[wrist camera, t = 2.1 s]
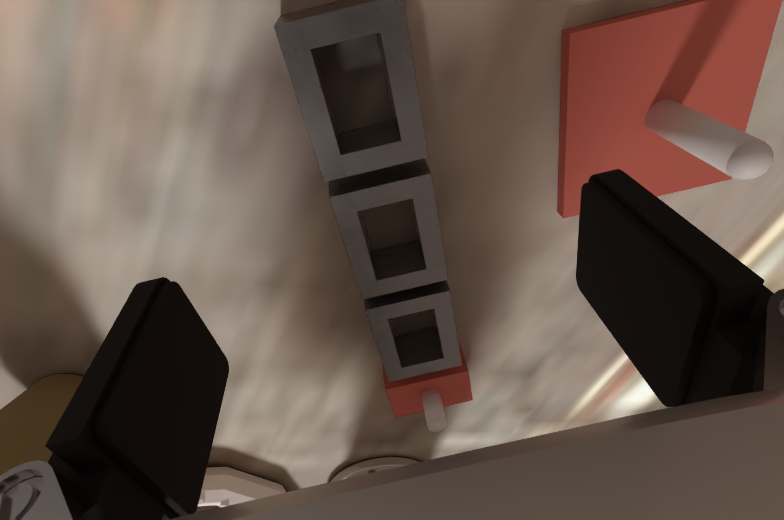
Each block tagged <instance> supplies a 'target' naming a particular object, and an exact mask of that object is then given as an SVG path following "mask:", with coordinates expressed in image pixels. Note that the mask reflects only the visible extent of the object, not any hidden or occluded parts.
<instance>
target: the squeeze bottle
mask: <svg viewBox="0 0 784 520" xmlns="http://www.w3.org/2000/svg"><path fill="white" fill-rule="evenodd" d="M82 379H83V377H82V376H79V375H75V374H55V375H50V376H46V377H43V378H42V379H40V380H39V381H38V382H36V383H35V384H34V385H32V386H31V387H30V388H28V389H27V390H26V391H24V392H23V393H22V394H20V395H19V396H18V397H16V398H15V399H14V400H13V401H11V402H10V403H9V404H7V405H6V406H5V407H3V408H2V409H1V410H0V476H1V475H2V474H4V473H6V472H7V471H9V470H10V469H12V468H14V467H16V466H19V465H21V464H24V463H26V462H31V461H38V460H39V461H44V462H48V461H49V459H50V457H51V455H52V453H53V452H51V451H50V450H49V449H48V448H47V447H45V445H46V443H47V441H48V440H49V438H50V436H51V434H52V432H53V431H54V429H55V427H56V425H57V424H58V422H59V420H60V418H61V416H62V415H63V413H64V411H65V409H66V408H67V406H68V404H69V402H70V400H71V399H72V397H73V395H74V393H75V392H76V390H77V388H78V386H79V384H80V383H81V381H82Z"/></svg>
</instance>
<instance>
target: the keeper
mask: <svg viewBox="0 0 784 520" xmlns="http://www.w3.org/2000/svg"><path fill="white" fill-rule="evenodd" d="M781 4H782V0H687V1H683V2H678V3H674V4H670V5H666V6H662V7H658V8H654V9H650V10H646V11H641V12H637V13H633V14H629V15H625V16H621V17H617V18H613V19H609V20H605V21H600V22H596V23H592V24H588V25H584V26H580V27H576V28H572V29H568V30H563V31H562V53H561V90H560V128H559V165H558V202H557V212H558V213H559V214H560V215H561V216H562V217H563V218H567V217H571V216H575V215H579V214H580V202H581V189H582V186H583V184H584V183H588V180H589V178H590V177H591V176H592V175H594V174H598V173H602V172H607V171H611V170H615V169H620V170H622V171H624V172H625V173H626V174H628V175H629V176H630V177H631V178H633V179H634V180H635V181H637V182H638V183H639V184H641V185H642V186H643V187H644V188H646V189H647V190H648V191H650V192H651V193H652V194H653V195H655V196H661V195H665V194H669V193H673V192H678V191H682V190H686V189H691V188H695V187H699V186H703V185H708V184H712V183H716V182H720V181H725V180H729V179H732V177H733V178H735V179H740V180H748V179H753V178H756V177H758V176H760V175H762V174H763V173H765V172H766V171H767V170H768V169H769V167H770V166H771V164H772V162H773V151H772V149H771V147H770V146H769V145H768V144H767V143H766V142H764V141H762V140H760V139H758V138H756V137H753V136H751V135H749V134H747V133H745V130H746V126H747V123H748V119H749V116H750V112H751V109H752V105H753V102H754V98H755V95H756V91H757V88H758V84H759V81H760V77H761V74H762V70H763V67H764V63H765V60H766V56H767V53H768V49H769V46H770V42H771V39H772V35H773V32H774V28H775V25H776V21H777V18H778V14H779V11H780V7H781Z"/></svg>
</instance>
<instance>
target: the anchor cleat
mask: <svg viewBox="0 0 784 520" xmlns="http://www.w3.org/2000/svg"><path fill="white" fill-rule="evenodd" d="M459 350H460V356H461V362H462V365H461V366H457V367H452V368H448V369H444V370H439V371H435V372H430V373H426V374H422V375H417V376H413V377H408V378H404V379H400V380H395V381H391V382H389V381H388V378H387V375H386V372H385V369H384V366H383V372H384V379H385V387H386V392H387V395H388V398H389V401H390V404H391V407H392V410H393V413H394V416H395V418H396V417H400V416H404V415H409V414H413V413H418V412H422V411H424V412H425V417H426V422H427V427H428V430H430V431H432V432H439V431H442V430H444V429H445V428H446V427H447V421H446V417H445V413H444V408H443V407H444V406H449V405H453V404H457V403H462V402H466V401H471V400H473V399H472V392H471V386H470V379H469V372H468V369H467V366H466V363H465V359H464V356H463V353H462V350H461V347H460V345H459ZM382 364H383V363H382Z"/></svg>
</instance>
